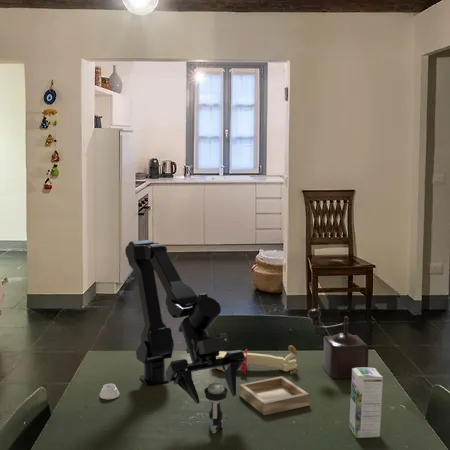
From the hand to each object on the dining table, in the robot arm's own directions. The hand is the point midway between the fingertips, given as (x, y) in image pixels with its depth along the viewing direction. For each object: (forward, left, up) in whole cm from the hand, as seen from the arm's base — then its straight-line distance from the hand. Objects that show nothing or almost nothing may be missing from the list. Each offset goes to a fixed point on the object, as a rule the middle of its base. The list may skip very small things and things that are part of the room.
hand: (216, 399), depth 142 cm
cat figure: (-29, +25, -8) cm, 39 cm away
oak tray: (-8, +20, -7) cm, 23 cm away
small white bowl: (-29, -17, -8) cm, 35 cm away
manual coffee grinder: (-17, +46, -8) cm, 50 cm away
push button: (-1, 0, -8) cm, 8 cm away
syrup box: (+16, +30, -8) cm, 35 cm away
